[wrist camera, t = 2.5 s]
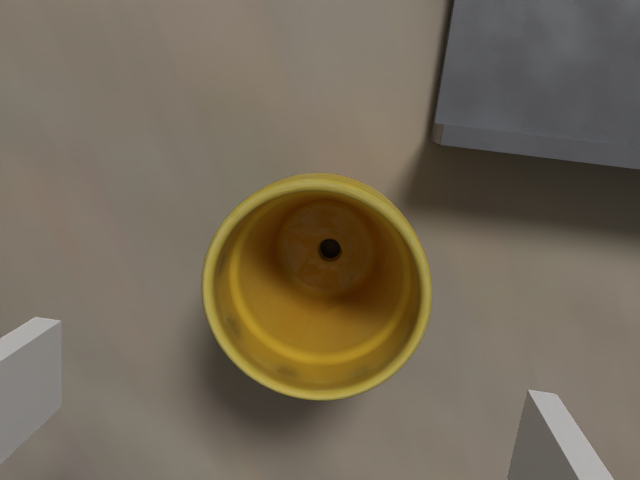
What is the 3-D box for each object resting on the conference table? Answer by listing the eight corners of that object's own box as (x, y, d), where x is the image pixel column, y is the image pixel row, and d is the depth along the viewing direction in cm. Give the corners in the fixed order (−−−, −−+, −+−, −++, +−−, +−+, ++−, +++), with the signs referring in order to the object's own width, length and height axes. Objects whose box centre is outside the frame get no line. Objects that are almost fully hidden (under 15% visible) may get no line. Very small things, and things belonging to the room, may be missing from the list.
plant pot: (433, 181, 31) (462, 209, 22) (391, 339, 34) (400, 427, 24) (263, 143, 32) (218, 155, 22) (233, 303, 34) (182, 374, 25)
